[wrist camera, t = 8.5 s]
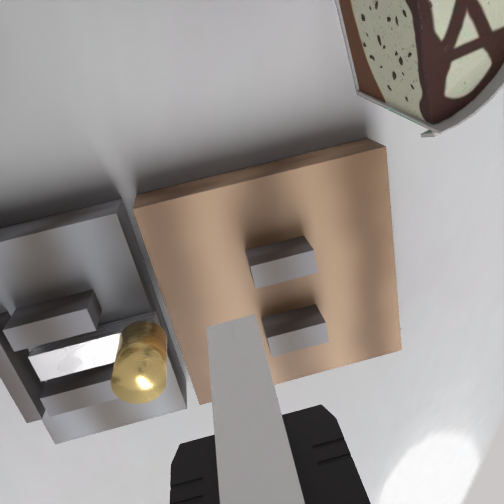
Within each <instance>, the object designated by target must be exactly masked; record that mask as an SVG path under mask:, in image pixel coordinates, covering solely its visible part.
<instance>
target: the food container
mask: <svg viewBox="0 0 504 504" xmlns="http://www.w3.org/2000/svg"><path fill="white" fill-rule="evenodd" d="M335 3H336V7H337V11H338V15H339V19H340V24H341V28H342V32H343V36H344V41H345V45H346V49H347V53H348V57H349V62H350V66H351V70H352V74H353V78H354V83H355V87H356V91H357V95H359V96H361V97H363V98H365V99H367V100H369V101H371V102H373V103H376V104H378V105H380V106H382V107H384V108H386V109H388V110H390V111H392V112H394V113H396V114H398V115H400V116H402V117H404V118H406V119H408V120H410V121H413V122H415V123H417V124H419V125H421V126H423V127H425V128H427V129H429V130H428V131H426V132H424V133H422V134H421V137H435V136H437V135H439V134H442V133H444V132H446V131H448V130H450V129H452V128H454V127H456V126H458V125H459V124H461V123H462V122H464V121H465V120H467V119H468V118H470V117H471V116H473V115H474V114H475V113H477V112H478V111H479V110H480V109H481V108H482V107H483V106H485V105H486V104H487V103H488V102H489V101H490V100H491V99H492V98H493V97H494V96H495V95H496V94H497V92H498V91H499V90H500V89H501V88H502V87H503V86H504V0H335Z"/></svg>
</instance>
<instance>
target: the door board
mask: <svg viewBox="0 0 504 504" xmlns="http://www.w3.org/2000/svg"><path fill="white" fill-rule="evenodd" d="M133 212H134V215H135V218H136V221H137V223H138V226H139V229H140V232H141V235H142V238H143V241H144V244H145V247H146V250H147V253H148V255H149V258H150V261H151V264H152V267H153V270H154V273H155V276H156V279H157V282H158V285H159V288H160V290H161V293H162V296H163V299H164V302H165V305H166V308H167V311H168V314H169V317H170V320H171V322H172V325H173V328H174V331H175V334H176V337H177V340H178V343H179V346H180V349H181V352H182V354H183V357H184V360H185V363H186V366H187V369H188V372H189V375H190V378H191V381H192V384H193V387H194V389H195V392H196V395H197V398H198V401H199V404H200V405H202V404H205V403H209V402H212V394H211V382H210V369H209V356H208V343H207V330H206V327H208V326H212V325H215V324H219V323H223V322H227V321H231V320H234V319H238V318H242V317H246V316H250V315H253V314H255V315H256V319H257V323H258V326H259V330H260V334H261V338H262V342H263V345H264V349H265V353H266V357H267V361H268V365H269V368H270V372H271V376H272V380H273V384H274V385H275V384H279V383H282V382H286V381H290V380H293V379H297V378H301V377H304V376H308V375H312V374H315V373H319V372H323V371H327V370H330V369H334V368H338V367H341V366H345V365H349V364H352V363H356V362H360V361H363V360H367V359H371V358H374V357H378V356H382V355H385V354H389V353H393V352H396V351H400V350H402V348H401V335H400V322H399V309H398V296H397V283H396V270H395V257H394V244H393V231H392V218H391V205H390V192H389V179H388V166H387V153H386V146H384V145H381V144H379V143H377V142H375V141H373V140H370V139H368V138H366V139H362V140H358V141H354V142H350V143H346V144H342V145H338V146H333V147H329V148H325V149H321V150H317V151H313V152H309V153H305V154H301V155H297V156H293V157H289V158H285V159H281V160H277V161H272V162H268V163H264V164H260V165H256V166H252V167H248V168H244V169H240V170H236V171H232V172H228V173H224V174H220V175H215V176H211V177H207V178H203V179H199V180H195V181H191V182H187V183H183V184H179V185H175V186H171V187H167V188H163V189H159V190H154V191H150V192H146V193H142V194H138V195H137V196H136V199H135V203H134V206H133ZM153 311H156V314H157V317H158V320H159V322H160V325H161V327H162V328H163V330H164V331H165V333H166V335H167V368H166V386H165V389H164V391H163V392H162V393H161V395H160V396H159V397H157V398H156V399H154V400H152V401H150V402H147V403H141V404H134V403H129V402H126V401H123V400H121V399H120V398H118V397H117V396H116V395H115V394H114V392H113V390H112V388H111V377H112V372H113V367H114V362H113V363H109V364H105V365H102V366H98V367H94V368H90V369H87V370H83V371H79V372H75V373H71V374H68V375H64V376H60V377H56V378H53V379H49V380H45V381H40V379H39V377H38V375H37V373H36V371H35V369H34V368H33V366H32V364H31V362H30V360H29V358H28V356H29V354H30V352H31V350H32V348H33V347H35V346H38V345H42V344H46V343H50V342H54V341H58V340H62V339H65V338H69V337H73V336H77V335H81V334H85V333H88V332H92V331H96V329H97V326H99V325H103V324H107V323H110V322H114V321H118V320H122V319H126V318H130V317H134V316H137V315H141V314H145V313H149V312H153ZM0 378H1V379H2V381H3V383H4V384H5V386H6V388H7V390H8V391H9V393H10V395H11V396H12V398H13V400H14V402H15V403H16V405H17V407H18V409H19V410H20V412H21V414H22V415H23V417H24V419H25V421H26V422H27V423H29V422H33V421H36V420H40V419H42V421H43V423H44V425H45V427H46V428H47V430H48V432H49V434H50V436H51V437H52V439H53V441H54V443H55V444H58V443H62V442H66V441H69V440H73V439H77V438H80V437H84V436H88V435H91V434H95V433H99V432H102V431H106V430H110V429H113V428H117V427H121V426H124V425H128V424H132V423H135V422H139V421H143V420H146V419H150V418H154V417H157V416H161V415H165V414H168V413H172V412H176V411H179V410H183V409H187V394H186V380H185V377H184V374H183V372H182V369H181V366H180V363H179V360H178V357H177V354H176V352H175V349H174V346H173V343H172V340H171V337H170V334H169V332H168V329H167V326H166V323H165V320H164V317H163V314H162V312H161V309H160V306H159V303H158V300H157V297H156V295H155V292H154V289H153V286H152V283H151V280H150V277H149V275H148V272H147V269H146V266H145V263H144V260H143V257H142V255H141V252H140V249H139V246H138V243H137V240H136V237H135V235H134V232H133V229H132V226H131V223H130V220H129V218H128V215H127V212H126V209H125V206H124V203H123V200H122V199H118V200H114V201H110V202H106V203H102V204H98V205H93V206H89V207H85V208H81V209H77V210H73V211H69V212H65V213H61V214H57V215H53V216H49V217H45V218H41V219H36V220H32V221H28V222H24V223H20V224H16V225H12V226H8V227H4V228H0Z"/></svg>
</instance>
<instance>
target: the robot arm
mask: <svg viewBox="0 0 504 504" xmlns="http://www.w3.org/2000/svg"><path fill="white" fill-rule="evenodd" d="M206 330H207V343H208V356H209V369H210V382H211V394H212V407H213V420H214V433H215V435H212V436H208V437H204V438H201V439H197V440H193V441H189V442H186V443H182V444H180V445H179V448H178V450H177V452H176V454H175V457H174V459H173V461H172V464H171V482H170V486H171V490H170V504H371V503H370V501H369V498H368V496H367V493H366V491H365V489H364V486H363V484H362V481H361V479H360V476H359V474H358V471H357V469H356V466H355V464H354V461H353V459H352V457H351V454H350V451H349V449H348V446H347V444H346V441H345V440H344V437H343V434H342V432H341V429H340V427H339V424H338V422H337V419H336V418H335V417H334V416H333V415H332V414H331V413H330V412H329V411H328V410H327V409H326V408H325V407H324V406H322V405H318V406H314V407H310V408H307V409H303V410H299V411H295V412H292V413H288V414H284V415H282V414H281V410H280V407H279V403H278V399H277V395H276V391H275V387H274V384H273V380H272V376H271V372H270V368H269V365H268V361H267V357H266V353H265V349H264V345H263V342H262V338H261V334H260V330H259V326H258V323H257V319H256V315H255V314H253V315H250V316H246V317H242V318H238V319H234V320H231V321H227V322H223V323H219V324H215V325H212V326H208V327H206Z"/></svg>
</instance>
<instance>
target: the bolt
mask: <svg viewBox="0 0 504 504" xmlns="http://www.w3.org/2000/svg"><path fill="white" fill-rule="evenodd" d="M28 358H29V360H30V362H31V364H32V366H33V368H34V369H35V371H36V373H37V375H38V377H39V379H40V381H45V380H49V379H53V378H56V377H60V376H64V375H68V374H71V373H75V372H79V371H83V370H87V369H90V368H94V367H98V366H102V365H105V364H109V363H113V362H114V367H113V372H112V377H111V388H112V390H113V392H114V394H115V395H116V396H117V397H118V398H120V399H121V400H123V401H126V402H129V403H134V404H141V403H147V402H150V401H152V400H154V399H156V398H157V397H159V396H160V395H161V393H162V392H163V391H164V389H165V386H166V368H167V335H166V333H165V331H164V330H163V328H162V327H161V325H160V322H159V320H158V317H157V314H156V311H153V312H149V313H145V314H141V315H137V316H134V317H130V318H126V319H122V320H118V321H114V322H110V323H107V324H103V325H99V326H97V329H96V331H92V332H88V333H85V334H81V335H77V336H73V337H69V338H65V339H62V340H58V341H54V342H50V343H46V344H42V345H38V346H35V347H33V348H32V350H31V352H30V354H29V356H28Z"/></svg>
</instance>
